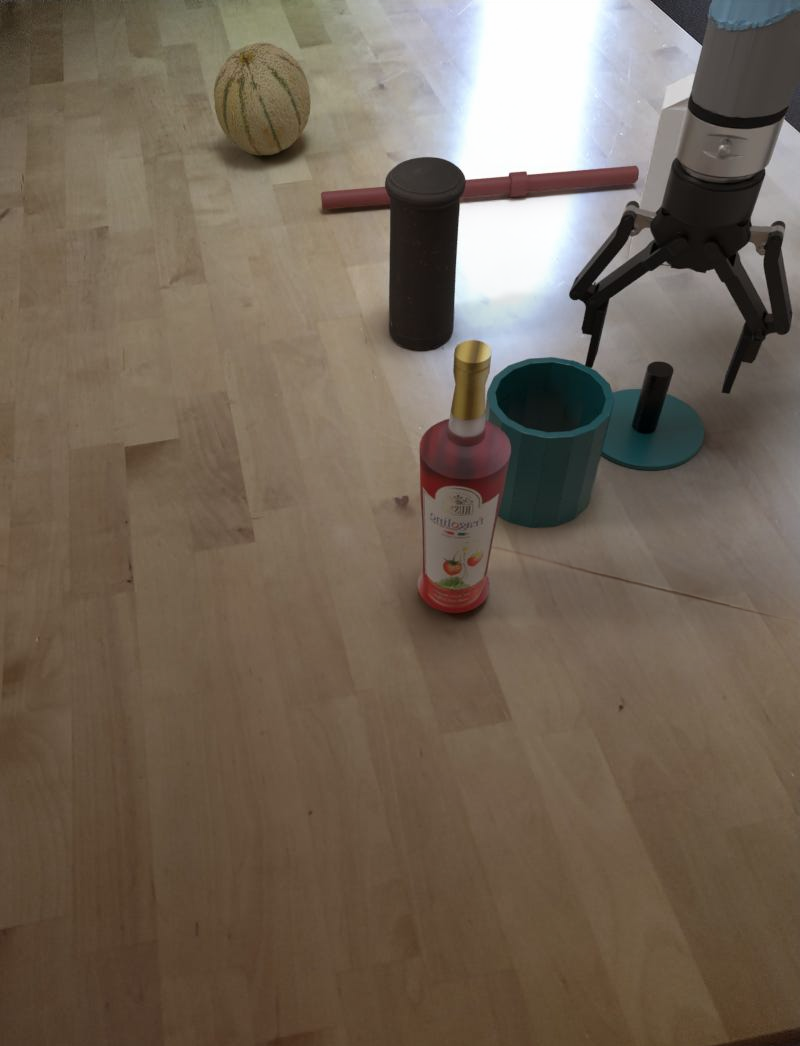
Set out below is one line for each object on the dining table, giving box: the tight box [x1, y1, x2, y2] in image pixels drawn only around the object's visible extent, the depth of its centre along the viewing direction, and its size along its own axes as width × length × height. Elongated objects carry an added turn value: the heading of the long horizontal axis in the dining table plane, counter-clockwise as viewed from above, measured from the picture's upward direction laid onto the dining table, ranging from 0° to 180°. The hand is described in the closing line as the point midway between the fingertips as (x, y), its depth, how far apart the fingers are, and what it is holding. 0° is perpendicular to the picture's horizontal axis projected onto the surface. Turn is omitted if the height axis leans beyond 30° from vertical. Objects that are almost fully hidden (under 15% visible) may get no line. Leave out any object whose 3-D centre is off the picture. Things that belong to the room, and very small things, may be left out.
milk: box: [627, 71, 696, 266], centre depth 110 cm, size 6×6×22 cm
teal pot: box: [485, 356, 615, 529], centre depth 90 cm, size 12×12×12 cm
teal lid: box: [601, 360, 706, 471], centre depth 95 cm, size 13×13×9 cm
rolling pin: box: [320, 165, 640, 210], centre depth 128 cm, size 45×3×3 cm, turn 92°
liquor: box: [417, 339, 511, 614], centre depth 76 cm, size 7×7×28 cm
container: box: [384, 156, 467, 351], centre depth 104 cm, size 9×9×20 cm
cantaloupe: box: [213, 42, 312, 156], centre depth 136 cm, size 15×15×15 cm
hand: (657, 372), depth 92 cm, fingers open, 13 cm apart
